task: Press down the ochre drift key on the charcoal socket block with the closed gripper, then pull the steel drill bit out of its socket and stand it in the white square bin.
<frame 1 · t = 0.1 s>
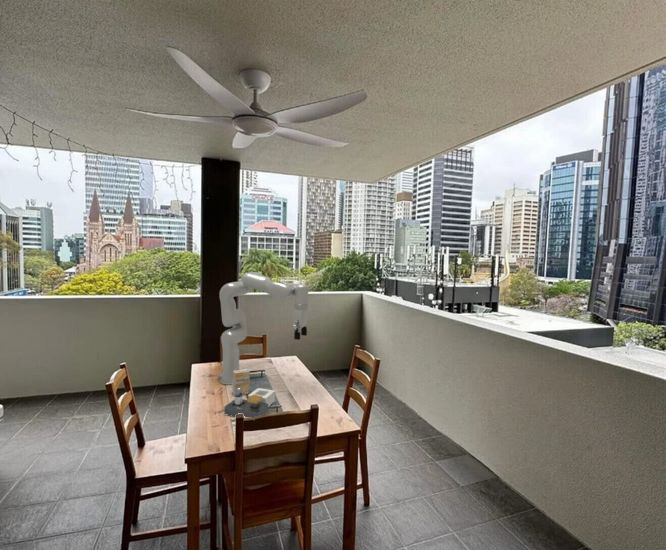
hand: (300, 337, 189), 31 cm above the table, tool pointing down, fingers open, 9 cm apart
white square bin: (261, 404, 174), on the table
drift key: (254, 402, 162), point 6 cm above the table, slide at 0.0 cm
drill bit: (238, 411, 165), resting in socket block
supplement box: (241, 394, 186), on the table
socket block: (246, 413, 164), on the table
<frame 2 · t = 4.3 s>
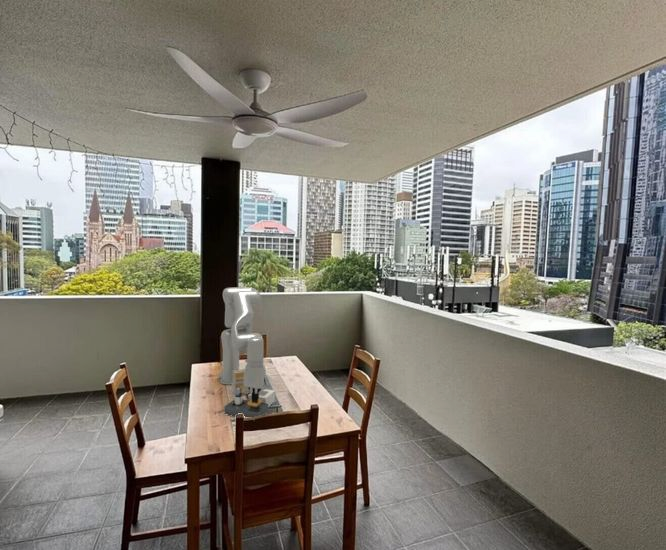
hand: (255, 400, 162), 7 cm above the table, tool pointing down, fingers closed
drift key: (254, 405, 162), point 4 cm above the table, slide at 1.5 cm, touching gripper
everything else where it was.
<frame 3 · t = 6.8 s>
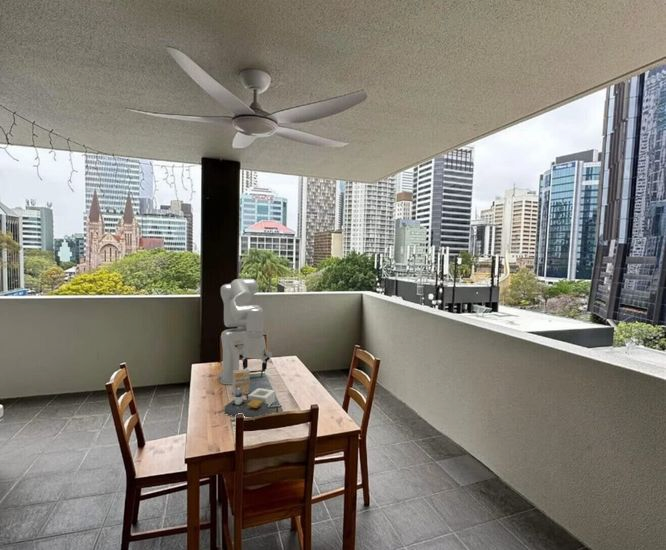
hand: (254, 369, 161), 22 cm above the table, tool pointing down, fingers open, 9 cm apart
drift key: (254, 407, 162), point 4 cm above the table, slide at 2.3 cm
everything else where it was.
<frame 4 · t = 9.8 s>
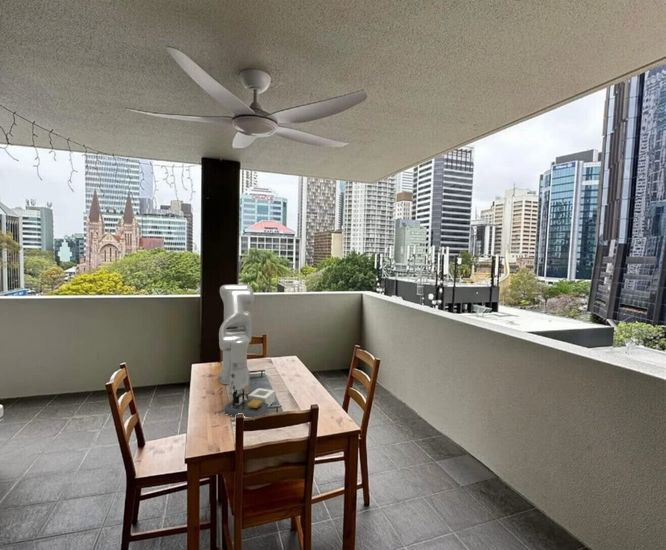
hand: (238, 401, 165), 5 cm above the table, tool pointing down, fingers closed on drill bit, 3 cm apart
drill bit: (238, 411, 165), resting in socket block, touching gripper
everything else where it was.
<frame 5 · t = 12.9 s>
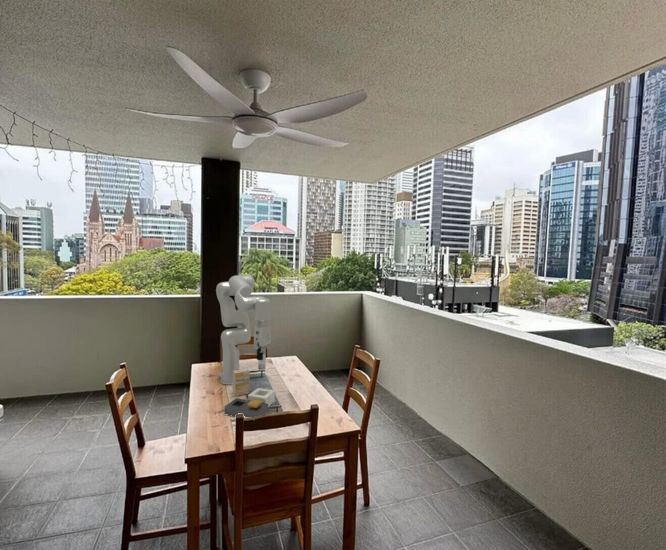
hand: (261, 358, 172), 24 cm above the table, tool pointing down, fingers closed on drill bit, 3 cm apart
drill bit: (261, 368, 172), point 19 cm above the table, touching gripper
everything else where it was.
when the fingers open (7 cm above the table, at t = 16.4 s): drill bit drops 2 cm, resting in white square bin.
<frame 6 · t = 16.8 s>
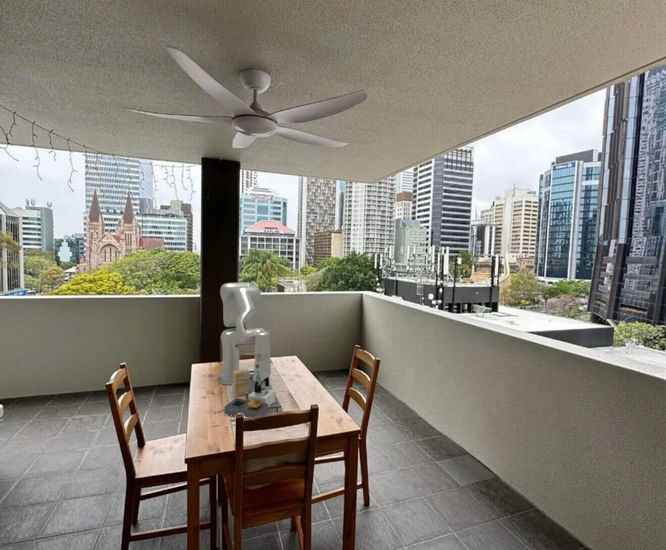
hand: (261, 389, 173), 8 cm above the table, tool pointing down, fingers open, 8 cm apart
drill bit: (261, 404, 174), resting in white square bin
everything else where it was.
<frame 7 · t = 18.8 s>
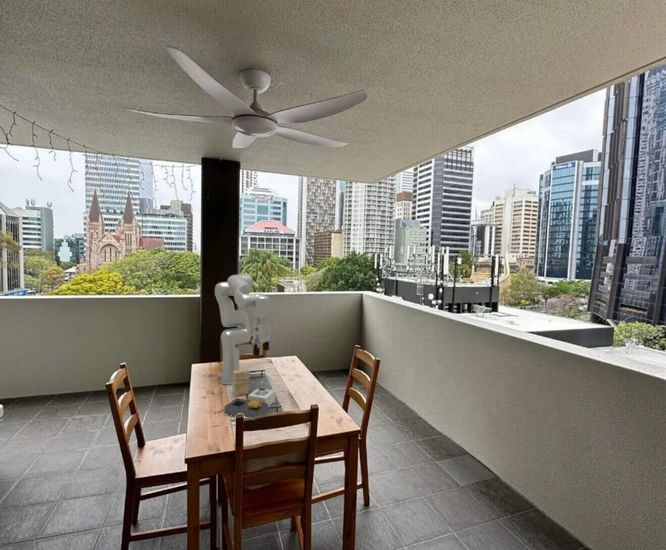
hand: (261, 352, 174), 26 cm above the table, tool pointing down, fingers open, 9 cm apart
nothing on the table moved.
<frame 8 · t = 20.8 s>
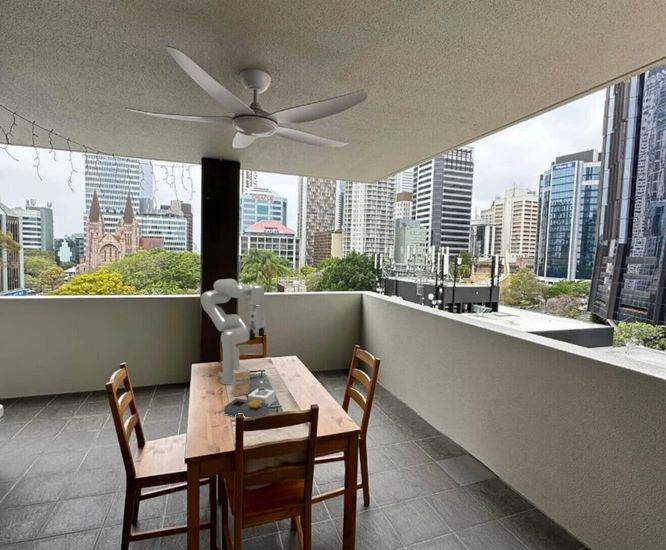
hand: (256, 338, 188), 30 cm above the table, tool pointing down, fingers open, 9 cm apart
nothing on the table moved.
at the end: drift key slide at 2.3 cm; drill bit 0.1 cm off-centre on the white square bin, point 0.0 cm above the white square bin's base; drill bit tilted 1° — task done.
